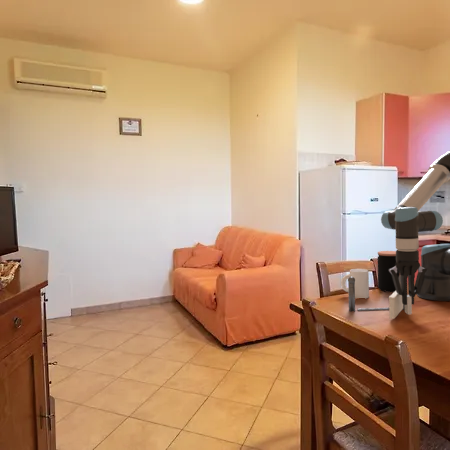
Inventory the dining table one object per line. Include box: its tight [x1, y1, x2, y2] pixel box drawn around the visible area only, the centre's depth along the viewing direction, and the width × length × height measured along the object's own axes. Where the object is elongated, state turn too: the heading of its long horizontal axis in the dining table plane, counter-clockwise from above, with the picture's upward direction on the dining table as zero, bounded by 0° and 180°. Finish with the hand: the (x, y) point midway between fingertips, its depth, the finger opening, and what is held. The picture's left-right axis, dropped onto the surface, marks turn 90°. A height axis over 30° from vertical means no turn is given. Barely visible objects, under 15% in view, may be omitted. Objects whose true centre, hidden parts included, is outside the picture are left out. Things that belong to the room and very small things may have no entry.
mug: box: [340, 268, 370, 299], centre depth 168 cm, size 8×12×12 cm
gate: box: [388, 291, 403, 320], centre depth 139 cm, size 15×2×8 cm, turn 143°
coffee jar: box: [377, 250, 400, 293], centre depth 178 cm, size 11×11×18 cm
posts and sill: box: [347, 275, 405, 312], centre depth 147 cm, size 23×3×14 cm, turn 89°
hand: (408, 313), depth 137 cm, fingers closed
